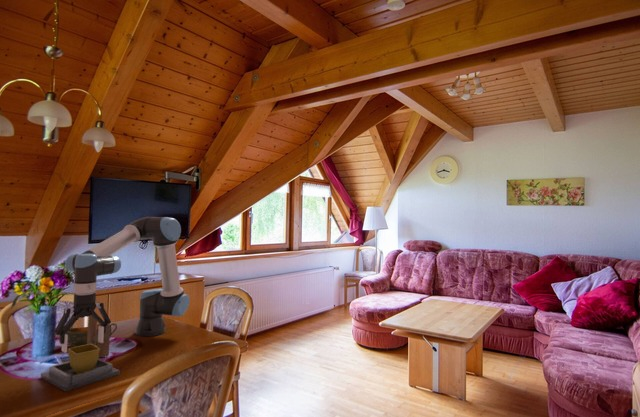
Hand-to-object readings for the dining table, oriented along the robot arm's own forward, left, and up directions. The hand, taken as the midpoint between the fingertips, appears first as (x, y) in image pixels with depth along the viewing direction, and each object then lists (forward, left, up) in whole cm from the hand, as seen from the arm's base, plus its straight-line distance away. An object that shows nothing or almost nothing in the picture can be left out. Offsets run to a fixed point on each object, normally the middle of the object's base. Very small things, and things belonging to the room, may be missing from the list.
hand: (83, 346), depth 154 cm
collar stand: (0, 0, -11) cm, 11 cm away
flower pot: (0, 0, -10) cm, 10 cm away
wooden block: (-15, -18, -12) cm, 26 cm away
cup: (-20, -34, -12) cm, 41 cm away
